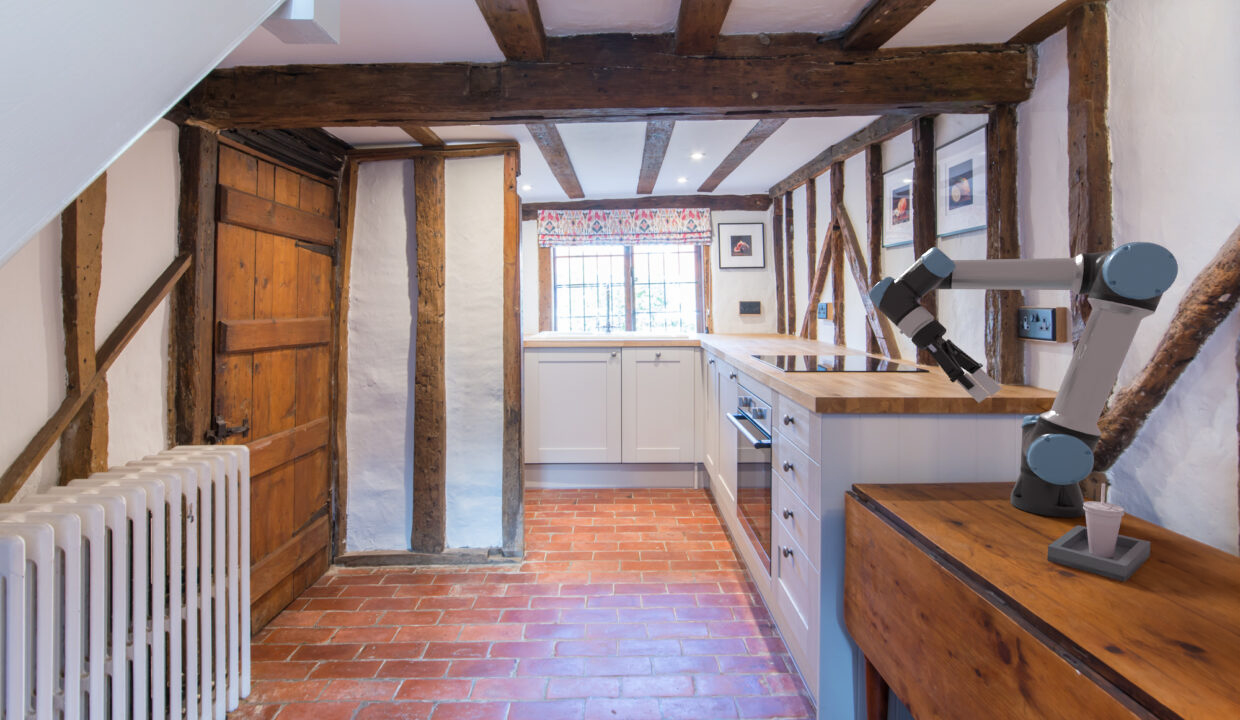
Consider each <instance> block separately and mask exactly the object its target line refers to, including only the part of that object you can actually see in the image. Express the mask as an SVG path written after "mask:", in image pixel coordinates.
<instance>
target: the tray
mask: <svg viewBox="0 0 1240 720" xmlns="http://www.w3.org/2000/svg"><path fill="white" fill-rule="evenodd" d="M1151 543H1152V542H1151V541H1148V540H1143V539H1139V538H1136V537H1132V536H1127V535H1122V534H1119V533H1118V537H1117V541H1116V546H1115V550H1114V555H1113V557H1110V558H1107V557H1100V556H1096V555H1093V554H1091V553H1090V552H1089V543H1088V533H1087V526H1083V525H1079V524H1077V525H1076V526H1074V527H1072V528H1071V529H1070V530H1069V531H1067V532H1066V533H1064V534H1063V535H1062V536H1060V537H1059V538H1057V539H1056V540H1054V541H1053V542H1051V543H1050V544H1049V545H1047V558H1046V559H1047V561H1048V562H1052V563H1055V564H1059V565H1062V566H1065V567H1070V568H1073V569H1075V570H1076V569H1077V570H1080V571H1083V572H1087V573H1090V574H1094V575H1098V574H1099V575H1098V576H1101V575H1102V576H1101V577H1105V576H1106V578H1108V577H1110V578H1109V579H1112V578H1113V579H1112V580H1115V579H1117V580H1116V581H1119V580H1120V581H1119V582H1123V581H1124V582H1123V583H1126V582H1125V581H1126V580H1127V579H1128V580H1129V579H1130V578H1131V576H1133V574H1134V573H1135V572H1136V571H1137V570H1138V569H1139V568H1140V567H1141V566H1142V565H1143V564H1144V563H1145V562H1146V561H1147V560H1148V559H1149V558H1150V557H1151V545H1152V544H1151ZM1148 557H1149V558H1148ZM1141 564H1142V565H1141ZM1128 580H1127V581H1128Z"/></svg>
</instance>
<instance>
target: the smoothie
mask: <svg viewBox="0 0 1240 720" xmlns="http://www.w3.org/2000/svg"><path fill="white" fill-rule="evenodd" d="M1100 492H1101V493H1100V501H1091V500H1090V501H1084V502H1085V503H1084V504H1083V509H1084V510H1085V514H1084V516H1085V523H1086V527H1087V533H1088V543H1089V552H1090V553H1091V554H1093V555H1096V556H1100V557H1107V558H1110V557H1113V555H1114V550H1115V546H1116V541H1117V537H1118V534H1119V532H1120V531H1119V530H1120V526H1121V523H1122V518H1123V516H1125V509H1124V508H1123V507H1122V506H1120V505H1117V504H1113V503H1111V502H1106V501H1105V499H1106V498H1105V497H1106V496H1105V495H1106V483H1101V491H1100Z"/></svg>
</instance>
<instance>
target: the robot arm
mask: <svg viewBox="0 0 1240 720" xmlns="http://www.w3.org/2000/svg"><path fill="white" fill-rule="evenodd" d="M1178 273H1179V266H1178V260H1177V259H1176V257H1175V256H1174V254H1173V253H1172V252H1171V251H1170V250H1169V249H1167V248H1166V247H1165V246H1162V245H1161V244H1157V243H1154V242H1149V241H1134V242H1129V243H1125V244H1123V245H1120V246H1117V248H1115V249H1109V250H1106V251H1100V252H1090V253H1084V252H1083V253H1079V254H1077V255H1076V256H1075V257H1065V258H1064V257H1063V258H1062V257H1061V258H1060V257H1057V258H1056V257H1054V258H1052V257H1050V258H1007V259H1006V258H1004V259H1003V258H1002V259H1001V258H999V259H997V258H996V259H957V260H956V259H955V260H954V259H953V260H952V259H951V258H950V257H949V256H948V255H946V253H945V252H943V251H942V250H941V249H940V248H939V247H937V246H933V247H931V248H930V249H928V250H927V251H926V252H924V253H923V254H922V255H921V256H920V257H919V258H918V259H917V260H916V261H915V262H913V264H911V266H910V267H908V269H907V268H906V270H905V271H904V272H903V273H902V274H901V275H899V276H898V277H897V278H893V277H891V276H885V277H884V278H883V279H881V280H880V281H878V282H877V283H876V284H875V285H874V286H873V287H872V288H871V290H870V291H869V293H868V298H869V300H870V301H871V302H872V303H873V304H874V306H876V308H877V309H878V310H879V311H880V312H881V313H882V314H883V315H884V316H885V317H886V318H887V319H888V320H890V321H891V322H892V323H893V325H895V326H896V327H897V328H898V329H899V333H900V334H901V335H902V334H904V335H905V336H906V338H909V339H910V338H911V340H910V341H911V342H912V344H914V345H915V346H916V347H917V348H918V349H919V350H920V351H925V350H926V351H927V352H928V353H929V354H930V355H931V356H932V358H933V359H934V360H935V361H936V363H937V364H938V365H939V366H940V367H941V369H942V370H943V372H944V373H945V374H946V375H947V376H948V378H949V381H950V382H951V383H954V384H955V382H956V383H958V384H959V385H960V386H961V387H962V388H963V389H964V390H965V391H966V392H967V393H968V394H969V395H970V396H971V397H972V398H973V399H974V400H975V402H977V403H978V404H980V403H981V402H982V401H984V400H985V399H986V398H987V397H989V396H991V397H992V396H994V395H995V394H997V393H998V392H999V391H1001V390H1003V388H1002V387H1001V386H1000V385H999V384H998V383H997V382H996V381H995V380H994V379H993V378H991V377H990V375H989V374H988V373H986V372H985V370H983V369H982V368H983V367H984V365H983V364H982V363H981V362H980V363H979V362H977V360H975V359H973V358H972V357H971V356H970V355H968V354H967V353H966V352H965V351H964V350H962V349H961V348H960V347H958V346H957V345H956V344H955V343H953V341H952V340H951V339H945V338H943V336H944V335H945V334H946V333H947V328H946V327H945V326H944V325H943V324H942V323H941V322H939V320H936V319H935V316H933V314H931V313H930V312H929V311H928V309H926V308H925V307H924V306H923V305H922V304H921V303H919V301H920V300H921V299H922V298H923V297H924V296H926V295H927V294H928V293H929V292H930V291H934V290H1000V291H1001V290H1003V291H1004V290H1008V291H1009V290H1013V291H1014V290H1018V291H1019V290H1023V291H1025V290H1026V291H1027V290H1028V291H1030V290H1031V291H1035V290H1036V291H1038V290H1039V291H1040V290H1041V291H1043V290H1044V291H1071V292H1073V294H1074V295H1086V296H1087V295H1088V297H1087V301H1088V303H1089V304H1090V306H1091V311H1090V314H1089V316H1088V318H1087V321H1086V324H1085V326H1084V329H1083V331H1082V333H1081V336H1080V338H1079V341H1078V343H1077V346H1076V348H1075V351H1074V352H1073V355H1072V358H1071V360H1070V362H1069V365H1068V368H1067V370H1066V373H1065V375H1064V378H1063V379H1062V382H1061V385H1060V387H1059V388H1058V389H1059V390H1058V391H1057V395H1056V397H1055V399H1054V401H1053V404H1052V406H1051V409H1049V410H1048V411H1045V412H1042V413H1040V415H1025V416H1024V417H1023V420H1022V424H1021V430H1022V432H1021V446H1020V447H1021V449H1020V451H1021V452H1020V466H1019V467H1020V471H1019V472H1020V473H1019V476H1018V478H1017V480H1016V482H1015V484H1014V486H1013V488H1012V490H1011V494H1010V504H1011V505H1012V506H1013V507H1015V508H1017V509H1019V510H1022V511H1024V512H1027V513H1032V514H1036V515H1039V516H1040V515H1042V516H1047V517H1054V518H1068V519H1069V518H1071V519H1072V518H1080V517H1082V516H1083V517H1084V516H1085V510H1084V509H1083V504H1084V503H1085V502H1086V501H1085V498H1084V496H1083V493H1082V490H1081V487H1080V484H1079V482H1082V481H1083V480H1085V479H1086V478H1087V477H1088V476H1089V475H1090V474H1091V473H1092V470H1093V469H1094V466H1095V465H1094V463H1095V456H1094V452H1095V451H1096V448H1097V446H1098V444H1099V441H1100V439H1101V436H1102V432H1101V430H1100V429H1099V427H1098V424H1097V423H1099V422H1098V421H1099V420H1100V417H1101V415H1102V412H1103V410H1104V408H1105V406H1106V403H1107V400H1108V398H1109V396H1110V394H1111V392H1112V389H1113V387H1114V385H1115V383H1116V380H1117V378H1118V375H1119V373H1120V370H1121V368H1122V366H1123V364H1124V362H1125V359H1126V357H1127V354H1128V353H1129V350H1130V347H1131V345H1132V343H1133V340H1134V338H1135V336H1136V333H1137V332H1138V329H1139V326H1140V324H1141V322H1142V320H1144V319H1145V318H1146V317H1149V316H1151V315H1154V314H1156V310H1157V308H1158V306H1159V304H1160V301H1161V299H1162V297H1163V295H1164V293H1165V292H1166V291H1168V290H1169V289H1170V288H1171V287H1172V285H1173V284H1174V283H1175V281H1176V279H1177V276H1178ZM963 369H964V370H963ZM965 371H966V372H965Z"/></svg>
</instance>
